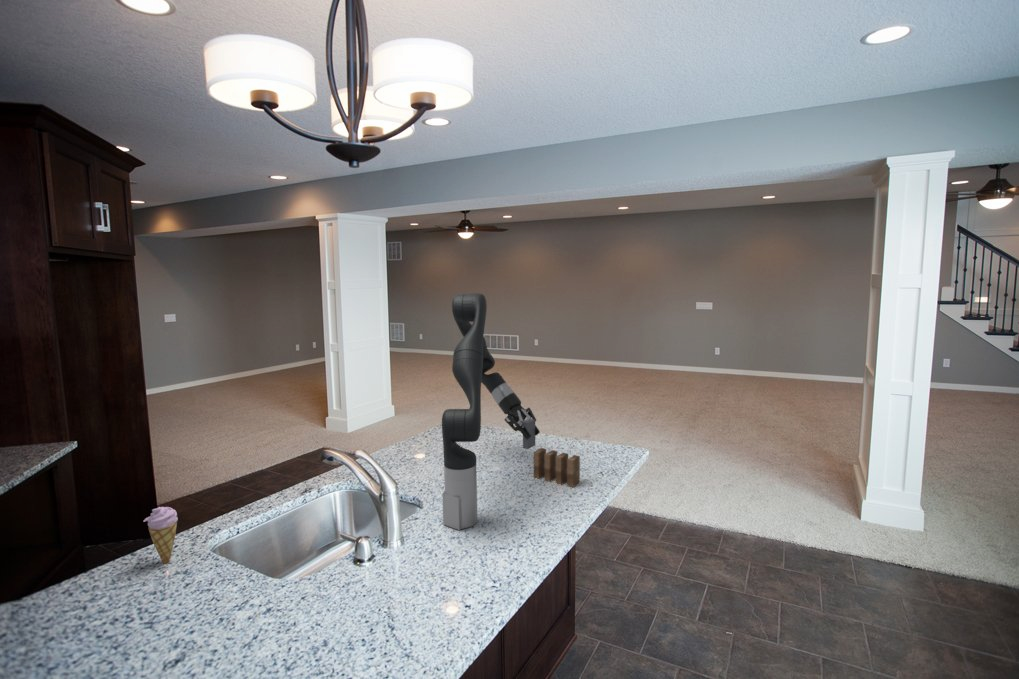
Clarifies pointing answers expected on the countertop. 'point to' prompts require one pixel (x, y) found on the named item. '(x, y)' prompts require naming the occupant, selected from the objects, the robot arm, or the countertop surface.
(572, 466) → the domino
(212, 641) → the countertop surface
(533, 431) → the domino
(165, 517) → the ice cream cone
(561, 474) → the domino
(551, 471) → the domino
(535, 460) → the domino
